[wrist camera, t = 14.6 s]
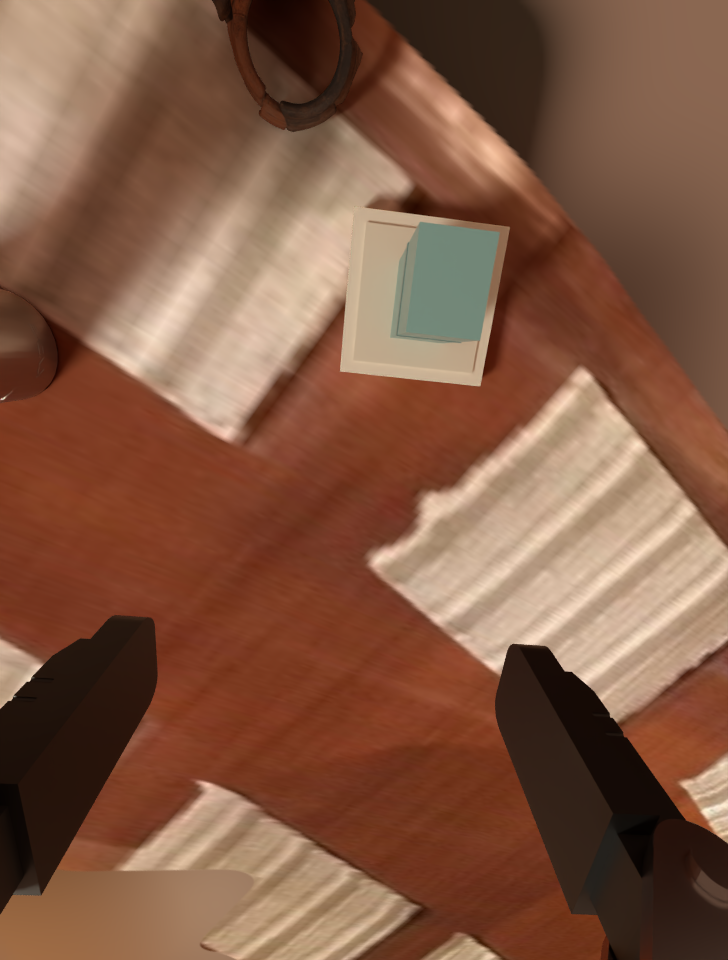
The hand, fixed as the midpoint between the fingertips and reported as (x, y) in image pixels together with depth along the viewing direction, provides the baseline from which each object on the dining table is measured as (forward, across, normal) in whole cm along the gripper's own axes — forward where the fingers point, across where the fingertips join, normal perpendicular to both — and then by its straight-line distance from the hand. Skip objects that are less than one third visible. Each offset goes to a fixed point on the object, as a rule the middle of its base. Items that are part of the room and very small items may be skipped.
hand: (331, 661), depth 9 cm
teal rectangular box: (+27, -5, -11) cm, 30 cm away
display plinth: (+30, -5, -11) cm, 32 cm away
